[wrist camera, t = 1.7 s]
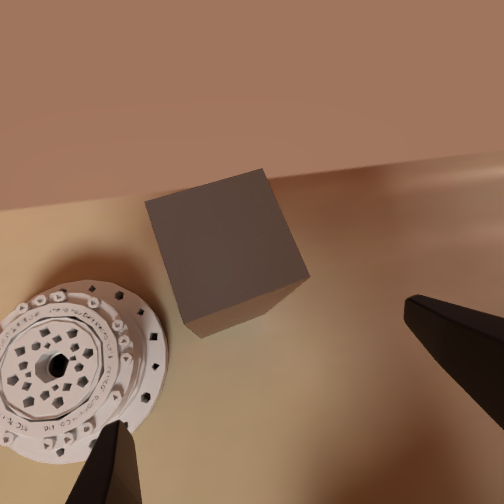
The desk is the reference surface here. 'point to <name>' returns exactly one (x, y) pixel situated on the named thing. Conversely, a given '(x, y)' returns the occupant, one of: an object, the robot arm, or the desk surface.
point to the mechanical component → (77, 368)
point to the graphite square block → (226, 251)
